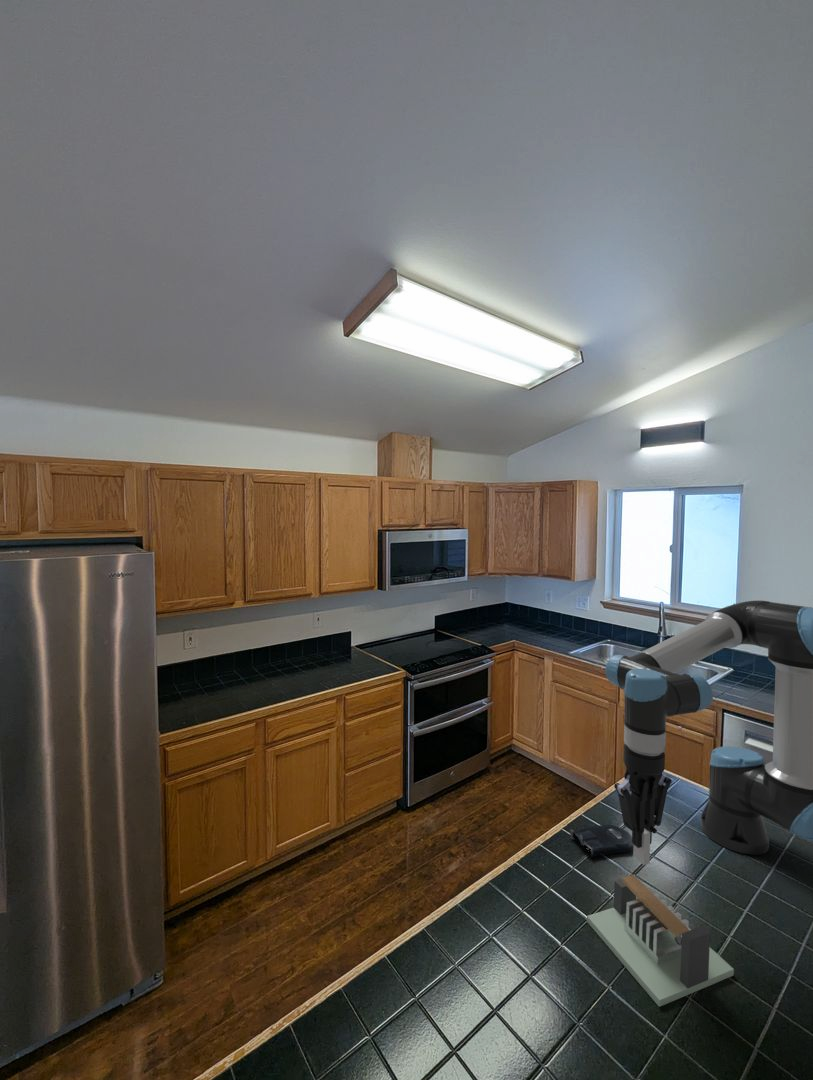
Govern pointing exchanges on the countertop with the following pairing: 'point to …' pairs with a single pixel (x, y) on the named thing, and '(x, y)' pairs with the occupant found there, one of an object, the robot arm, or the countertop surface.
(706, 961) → the board
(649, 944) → the heatsink
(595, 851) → the electronic device
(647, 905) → the strap
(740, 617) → the robot arm
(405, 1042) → the countertop surface
